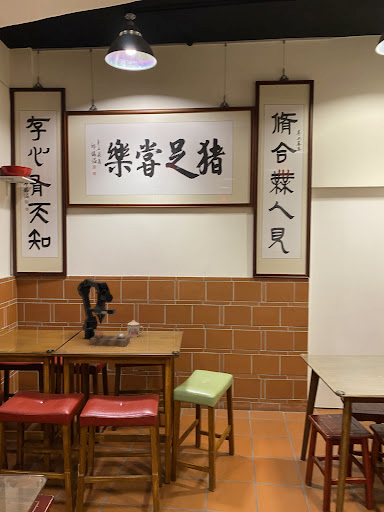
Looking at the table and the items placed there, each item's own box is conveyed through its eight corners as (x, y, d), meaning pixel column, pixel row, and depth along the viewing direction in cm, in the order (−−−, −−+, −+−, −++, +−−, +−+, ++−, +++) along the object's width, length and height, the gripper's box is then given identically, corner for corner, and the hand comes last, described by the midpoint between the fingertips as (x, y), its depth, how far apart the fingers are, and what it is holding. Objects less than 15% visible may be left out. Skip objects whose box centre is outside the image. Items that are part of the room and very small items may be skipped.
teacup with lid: (126, 337, 283) (127, 321, 282) (127, 334, 292) (127, 319, 291) (143, 337, 285) (143, 321, 284) (143, 334, 294) (143, 319, 293)
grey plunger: (115, 344, 262) (116, 335, 262) (118, 342, 268) (118, 333, 267) (123, 344, 262) (123, 335, 262) (125, 343, 267) (125, 333, 267)
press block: (89, 345, 261) (89, 339, 261) (96, 340, 273) (96, 334, 273) (124, 346, 258) (125, 340, 258) (129, 342, 270) (129, 336, 270)
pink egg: (94, 342, 264) (94, 333, 264) (96, 340, 269) (97, 331, 269) (101, 342, 264) (101, 333, 263) (104, 340, 269) (104, 331, 269)
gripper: (83, 301, 261) (82, 325, 261) (110, 303, 258) (110, 326, 259) (89, 299, 272) (89, 322, 272) (116, 300, 269) (115, 323, 270)
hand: (100, 323), depth 268 cm, fingers closed
